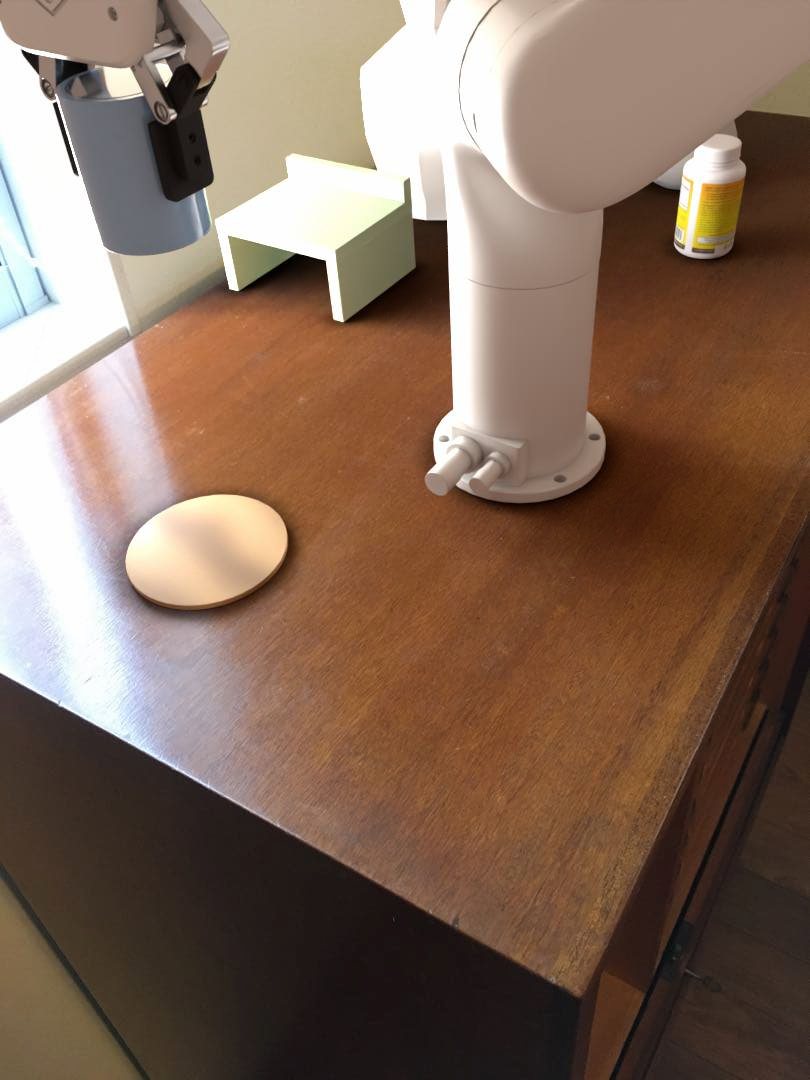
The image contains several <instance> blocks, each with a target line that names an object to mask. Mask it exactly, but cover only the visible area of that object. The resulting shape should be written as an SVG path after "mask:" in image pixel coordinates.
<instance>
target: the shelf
mask: <svg viewBox="0 0 810 1080" xmlns="http://www.w3.org/2000/svg"><path fill="white" fill-rule="evenodd" d="M285 162H286V169H287V176H288V177H287V178H285V179H284V180H282V181H280V182H279V183H276V184H275V185H273V186H272V187H270V188H268V189H267V190H265V191H263V192H261V193H259V194H258V195H256V196H254V197H252V198H251V199H249V200H247V201H246V202H244V203H242V204H240V205H238V206H237V207H235V208H234V209H232V210H230V211H228V212H226V213H225V214H223V215H221V216H219V217H218V218H216V219H214V223H215V227H216V231H217V234H218V240H219V244H220V248H221V249H220V250H221V253H222V259H223V263H224V268H225V273H226V278H227V281H228V282H227V283H228V287H229V290H233V291H236V292H240V291H242V290H243V289H244V288H245V287H247V286H248V285H250V284H252V283H254V282H255V281H256V280H258V279H260V278H261V277H263V276H264V275H266V274H267V273H268V272H271V270H273V269H274V268H276V267H278V266H279V265H280V264H282V263H283V262H284V263H285V261H287V260H288V259H290V258H291V257H293V256H294V255H296V254H299V255H304V256H308V257H311V258H315V259H318V260H323V261H325V263H326V271H327V279H328V286H329V294H330V302H331V310H332V318H333V320H334V321H336V322H337V321H338V322H341V323H345V322H346V321H347V320H349V319H350V318H352V317H353V316H354V315H356V314H357V313H358V312H359V311H360V310H362V309H363V308H365V307H366V306H367V305H368V304H370V303H371V302H373V301H374V300H375V299H376V298H378V297H379V296H381V294H383V293H384V292H386V291H387V290H388V289H389V288H390V287H391V288H392V286H393V285H395V284H396V283H397V282H398V281H400V280H401V279H403V278H404V277H406V276H407V275H408V274H409V273H410V272H412V271H413V270H414V269H415V268H416V267H417V265H416V250H415V238H414V237H415V235H414V234H415V233H414V218H413V215H412V198H411V182H410V177H407V176H402V175H397V174H392V173H387V172H382V171H378V169H373V168H368V167H363V166H358V165H353V164H352V165H351V164H347V163H343V162H338V161H332V160H327V159H322V158H318V157H313V156H308V155H302V154H297V153H291V154H289V155H287V156H286V157H285Z"/></svg>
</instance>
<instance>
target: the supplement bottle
mask: <svg viewBox="0 0 810 1080" xmlns="http://www.w3.org/2000/svg"><path fill="white" fill-rule="evenodd" d="M742 145H743V142H742V141H741V139H740V138H739V137H737V138H736V137H734V136H730V135H724V134H715V135H714V136H712V137H711V138H710V139H709V140H707V141H706V142H705V143H703V144H702V145H701V146H699V147H698V148H697V149H695V152H694V154H695V155H694V158H692V159H690V160H689V161H688V162H687V163H686V164H685V166H684V170H683V176H682V184H681V190H680V192H679V199H678V207H677V215H676V223H675V231H674V237H673V238H674V239H673V245H674V247H675V249H676V251H677V252H679V253H680V254H681V255H683V256H686V257H688V258H693V259H697V260H698V259H700V260H712V259H717V258H720V257H722V256H725V255H727V254H728V253H729V252H730V251H731V250H732V248H733V246H734V242H735V235H736V230H737V224H738V218H739V213H740V208H741V202H742V198H743V197H742V196H743V190H744V185H745V180H746V174H747V167H746V164H745V163H744V162H743V160H742V159H740V157H741V151H742Z"/></svg>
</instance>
